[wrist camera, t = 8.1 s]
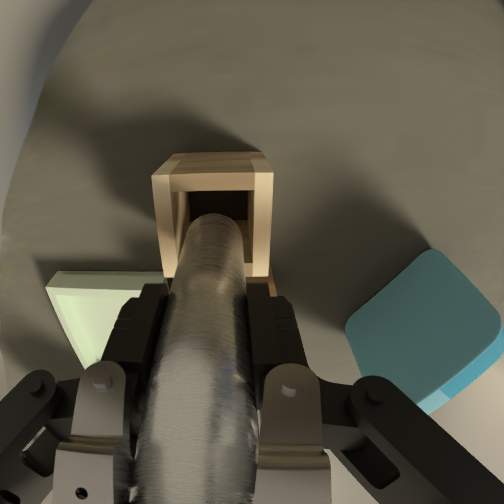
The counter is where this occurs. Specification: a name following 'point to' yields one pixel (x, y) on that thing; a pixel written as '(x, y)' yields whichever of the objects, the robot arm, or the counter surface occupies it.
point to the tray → (94, 305)
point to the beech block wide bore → (210, 179)
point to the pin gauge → (201, 380)
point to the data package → (427, 332)
